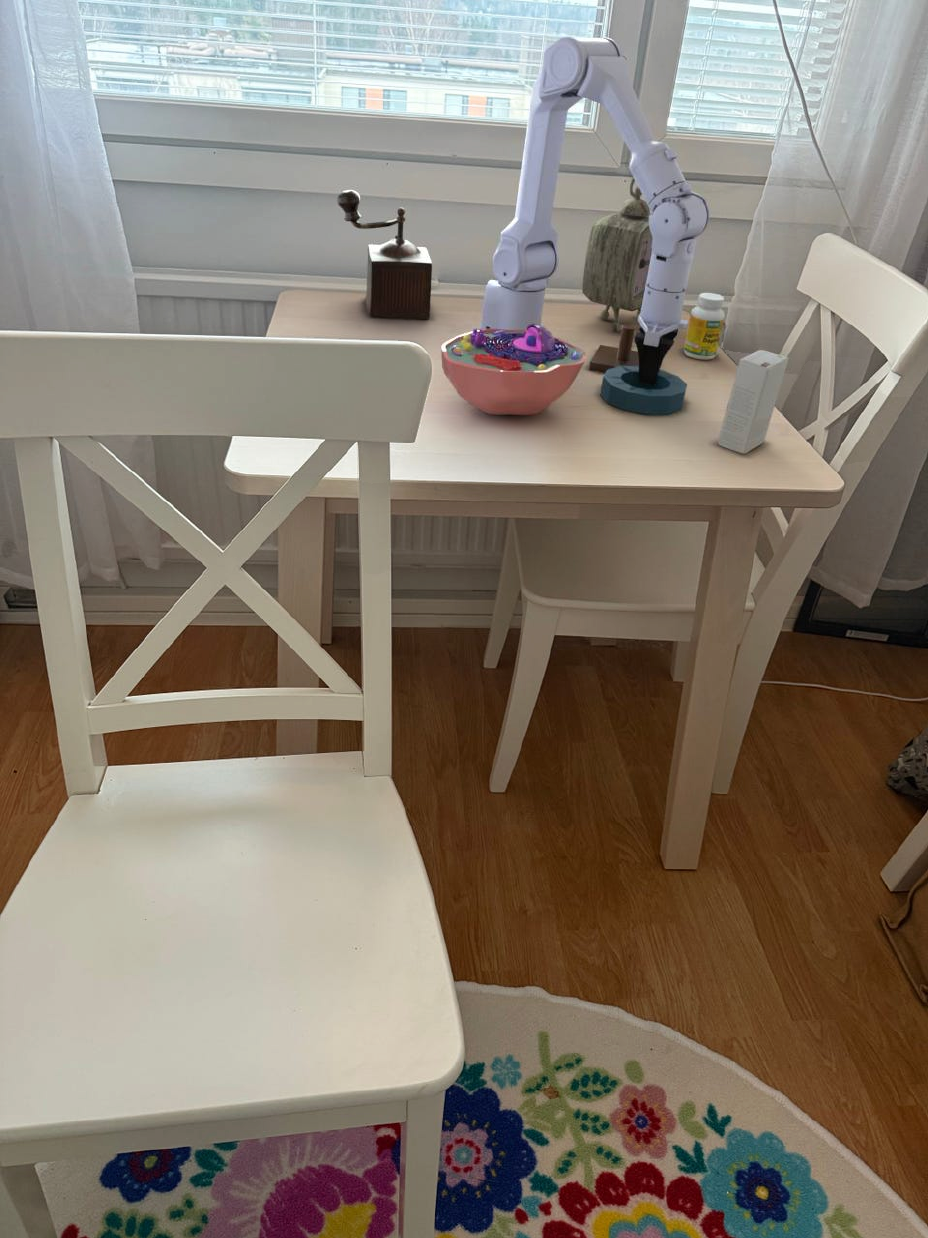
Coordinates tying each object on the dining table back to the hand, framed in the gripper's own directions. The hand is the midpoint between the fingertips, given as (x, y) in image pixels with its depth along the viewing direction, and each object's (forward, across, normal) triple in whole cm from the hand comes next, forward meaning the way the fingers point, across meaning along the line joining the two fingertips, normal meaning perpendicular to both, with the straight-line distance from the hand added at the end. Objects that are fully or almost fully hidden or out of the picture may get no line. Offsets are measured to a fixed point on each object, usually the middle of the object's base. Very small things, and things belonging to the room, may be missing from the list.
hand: (647, 379), depth 144 cm
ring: (+1, -5, 0) cm, 5 cm away
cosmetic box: (+2, -15, -15) cm, 21 cm away
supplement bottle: (+2, +20, -6) cm, 21 cm away
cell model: (+2, -18, +17) cm, 25 cm away
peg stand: (+1, +8, +5) cm, 10 cm away
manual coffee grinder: (+2, +15, +48) cm, 50 cm away
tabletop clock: (+2, +30, +10) cm, 32 cm away
